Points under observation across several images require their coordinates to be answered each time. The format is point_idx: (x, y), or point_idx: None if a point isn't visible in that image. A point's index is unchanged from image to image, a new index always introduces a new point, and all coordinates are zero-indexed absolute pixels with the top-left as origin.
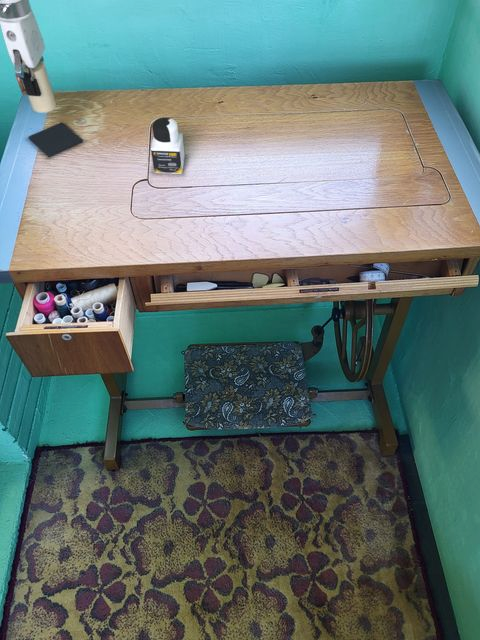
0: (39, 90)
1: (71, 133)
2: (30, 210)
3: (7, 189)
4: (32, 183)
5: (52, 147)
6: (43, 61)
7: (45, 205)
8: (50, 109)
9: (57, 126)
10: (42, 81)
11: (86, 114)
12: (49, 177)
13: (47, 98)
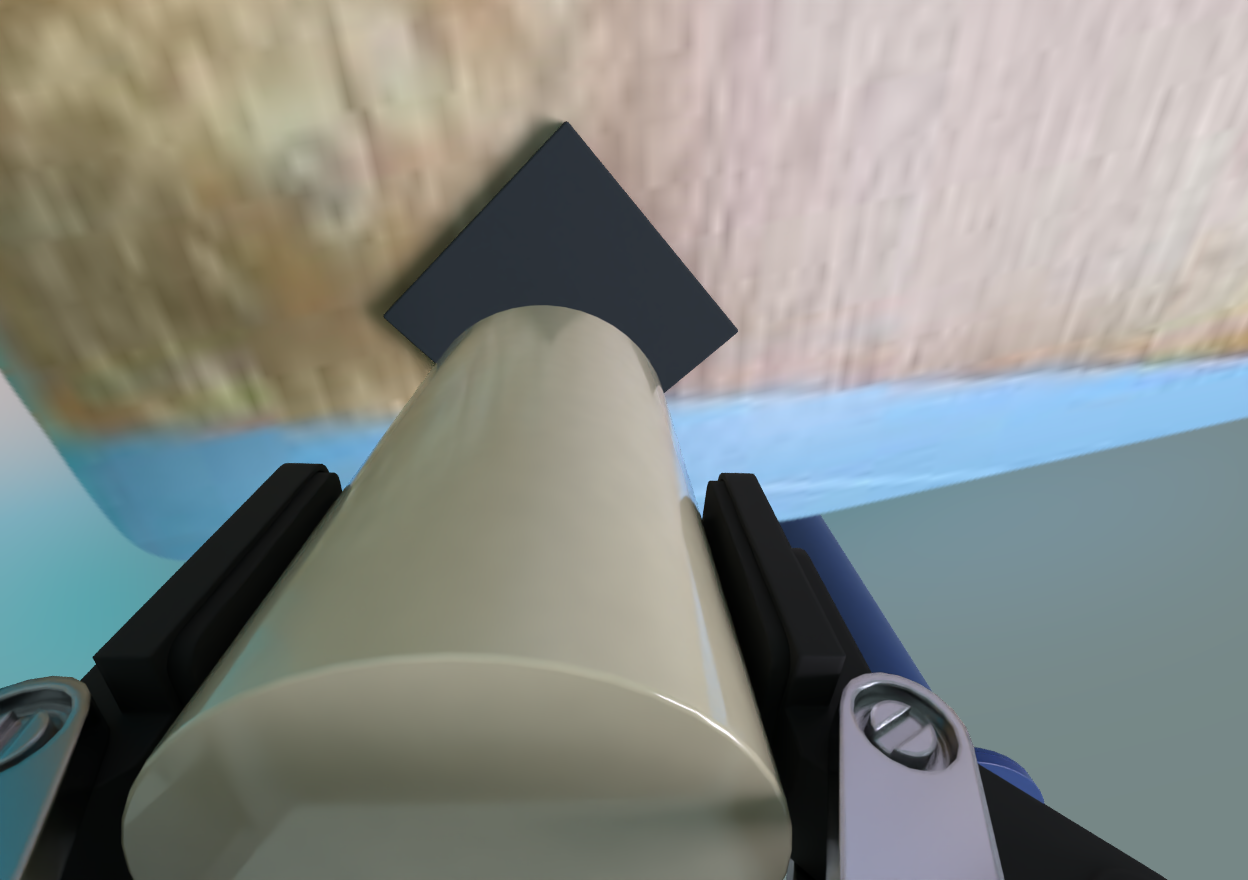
0: (762, 509)
1: (499, 219)
2: (1174, 328)
3: (969, 472)
4: (952, 367)
5: (663, 320)
6: (45, 680)
7: (1166, 254)
8: (635, 349)
9: (436, 334)
10: (667, 521)
11: (210, 154)
12: (920, 284)
13: (641, 392)
